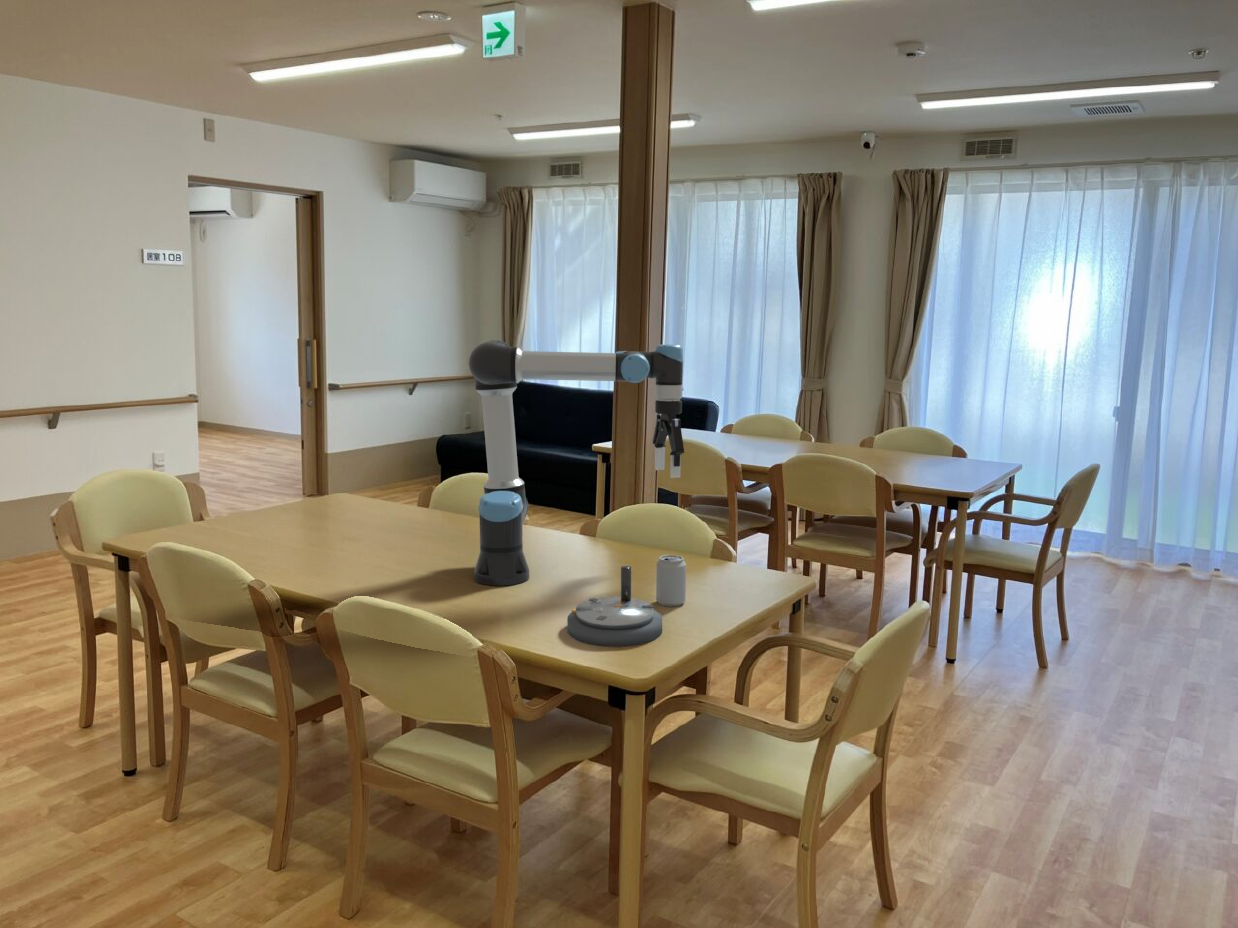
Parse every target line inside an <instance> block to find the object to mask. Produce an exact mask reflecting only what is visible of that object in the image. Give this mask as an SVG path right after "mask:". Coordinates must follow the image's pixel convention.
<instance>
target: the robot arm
mask: <svg viewBox="0 0 1238 928" xmlns="http://www.w3.org/2000/svg"><path fill="white" fill-rule="evenodd" d="M655 347H656V348H655V351H638V350H637V351H636V350H635V351H630V350H623V351H622V350H621V351H616V352H611V353H610V352H583V351H582V352H579V351H574V352H573V351H541V350H523V349H521V348H520V347H519V346H510V345H509V344H507V343H506V342H504V341H502V340H496V339H495V340H494V339H492V340H487V341H485V342H483V343H480V344H478V345H477V346H476V347H474V348H473V350H472V351H471V353H470V355H469V359H468V367H469V371H470V373H471V375H472V377H473V378H474V387H475V391H476V393H478V394H479V395H480V396H481V405H482V407H481V408H482V417H483V427H484V438H485V439H484V441H485V453H486V454H485V456H486V463H487V465H486V466H487V477H488V480H487V481H485V483H484V485H483V493H484V494H482V496H481V497H480V499H479V501H478V502H479V504H478V513H479V555H478V558H477V561H476V565H475V566H474V572H473V579H474V582H476V581H477V582H476V583H479V584H481V585H487V586H510V585H517V584H522V583H524V582H526V581H528V580H529V579H530V568H529V565H528V561H527V559H526V556H525V554H524V551H523V550H524V549H523V543H524V541H523V524H524V521H525V520H526V518H527V515H528V511H529V502H528V498H527V497H526V488H525V481H524V480H523V479H522V478H520V477H519V466H518V465H519V464H518V456H517V455H518V454H517V441H516V439H517V438H516V427H515V416H514V415H515V414H514V404H513V401H514V400H513V393H514V392H515V391H516V389H517V388H518V384H519V383H520V382H521V381H522V380H538V381H539V380H540V381H541V380H545V381H588V382H589V381H591V382H592V381H593V382H594V381H595V382H597V381H598V382H626V383H627V382H629V383H633V384H638V383H641V382H643V381H644V380H645V379H655V388H654V389H655V390H654V391H655V395H654V397H655V399H657V400H655V402H654V403H655V405H654V408H655V409H654V411H655V413H656V419H655V420H656V422H655V427H654V433H653V438H652V444H653V445H654V447H655V450H654V451H655V452H654V454H655V455H654V458H655V460H654V470H655V471H663V470H665V469H666V467H665V466H666V464H665V463H666V462H665V461H666V460H665V459H666V447H667V445H666V439H667V438H668V441H669V445H670V449H671V451H670V454H669V455H670V471H669V472H670V479H678V478H680V479H681V474H682V473H681V470H682V466H681V463H682V462H681V461H682V455H683V454H684V453H685V447H684V446H685V445H684V441H683V440H684V439H683V434H682V433H683V432H682V424H681V419H680V418H677V415H680V414H682V412H683V401H682V400H681V399H682V398H683V391H684V390H685V389H684V387H683V372H684V370H683V369H684V368H683V367H684V366H683V365H684V357H683V356H684V355H683V348H682V346H681V345H680V344H657V345H656V346H655Z"/></svg>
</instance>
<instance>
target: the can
mask: <svg viewBox="0 0 1238 928" xmlns="http://www.w3.org/2000/svg"><path fill="white" fill-rule="evenodd" d="M658 559H659V560H657V562H656V579H655V580H656V581H655V582H656V589H655V591H656V592H655V593H656V596H655V598H656V599H655V600H656V601H657V603H659V605H661V606H664V607H678V606H682V605H683V604H684V603H685V602H686V600H687V599H686V597H687V596H686V594H687V593H686V590H687V589H686V588H687V585H686V584H687V563H686V562H685V561H684V560H685V559H684V557H683V556H682V555H677V554H664V555H661V556H659V558H658Z"/></svg>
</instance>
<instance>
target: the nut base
mask: <svg viewBox="0 0 1238 928" xmlns="http://www.w3.org/2000/svg"><path fill="white" fill-rule="evenodd" d="M566 619H567V620H566V621H567V622H566V623H567V628H566V629H567V630H568V631H567V634H568V635H569V636H570V637H571V638H572V639H573V638H574V640H575V641H577V640H578V642H579V643H583V644H588V645H591V646H599V647H607V646H608V647H613V648H619V647H622V646H623V647H632V646H638V645H643V644H647V643H650V642H652V641H655V640H657V639H658V638H659V637H660V636H661V635H662V633H663V616H662V615H661V613H660V612H658V611H657V610H655V609H654V618H653V620H652V621H651V622H650V623H648V624H646V625H643V626H640V627H636V628H630V629H600V628H594V627H590V626H587V625H584V624H582V623H580V622H579V621H578V620H577V619H576V609H575V608H574V609H571V612H570V613H569V614H568V615H567V618H566Z"/></svg>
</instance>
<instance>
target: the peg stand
mask: <svg viewBox="0 0 1238 928" xmlns="http://www.w3.org/2000/svg"><path fill="white" fill-rule="evenodd" d="M575 610H576V619H577V620H578V621H579V622H580V623H582V624H584V625H587V626H590V627H594V628H600V629H630V628H636V627H640V626H643V625H646V624H648V623H650V622H651V621H652V620H653V618H654V610H655V608H654V605H653V604H651V603H650V602H648V601H645V600H643V599H639V598H635V597H632V567H631V566H630V565H623V566H620V596H603V597H602V596H601V597H593V598H589V599H587V600H584V601H581V602H580V603H578V604H577V605H576V607H575Z"/></svg>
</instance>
